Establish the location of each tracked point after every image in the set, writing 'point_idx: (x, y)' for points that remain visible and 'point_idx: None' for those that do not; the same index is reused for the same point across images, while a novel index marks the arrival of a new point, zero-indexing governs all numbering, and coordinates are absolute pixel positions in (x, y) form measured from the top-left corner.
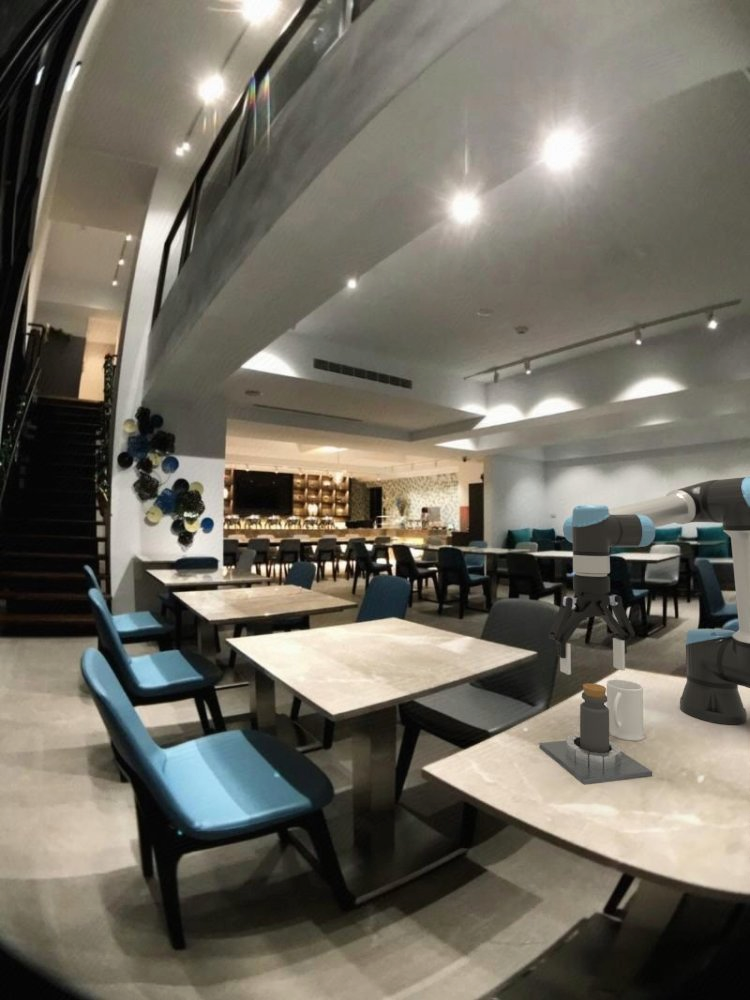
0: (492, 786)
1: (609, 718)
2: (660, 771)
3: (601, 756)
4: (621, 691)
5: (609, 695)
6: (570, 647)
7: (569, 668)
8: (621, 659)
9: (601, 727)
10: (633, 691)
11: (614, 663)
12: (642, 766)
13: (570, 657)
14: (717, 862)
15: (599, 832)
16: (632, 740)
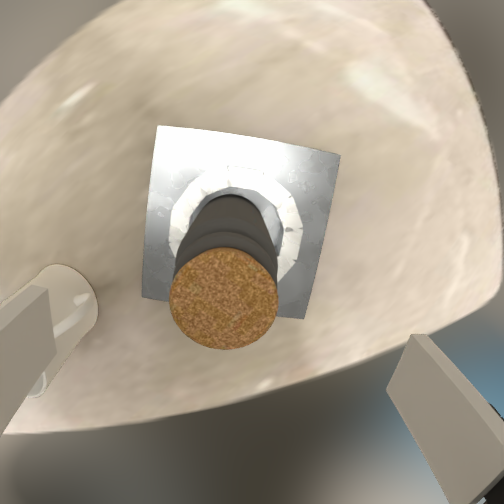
0: (472, 222)
1: (83, 328)
2: (124, 138)
3: (268, 175)
4: None
5: (58, 360)
6: (500, 438)
7: (432, 352)
8: (11, 326)
9: (241, 209)
10: None
11: (45, 359)
12: (159, 149)
13: (464, 392)
14: None
15: (417, 50)
16: (72, 268)
